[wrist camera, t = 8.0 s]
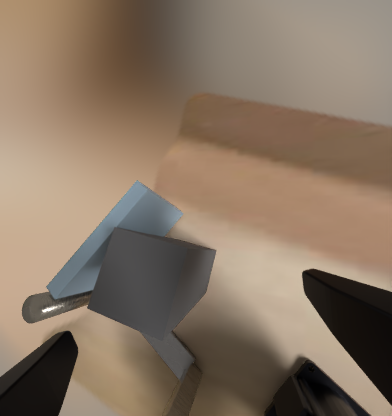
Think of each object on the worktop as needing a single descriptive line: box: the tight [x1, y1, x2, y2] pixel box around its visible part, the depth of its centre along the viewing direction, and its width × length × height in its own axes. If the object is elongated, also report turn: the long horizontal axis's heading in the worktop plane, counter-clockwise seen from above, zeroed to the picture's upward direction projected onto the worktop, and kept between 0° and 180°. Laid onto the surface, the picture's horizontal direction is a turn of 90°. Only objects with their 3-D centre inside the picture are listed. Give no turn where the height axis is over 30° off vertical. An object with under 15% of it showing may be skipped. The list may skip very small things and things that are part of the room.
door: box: [46, 180, 183, 299], centre depth 19 cm, size 10×3×9 cm, turn 139°
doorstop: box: [87, 227, 216, 341], centre depth 16 cm, size 4×4×12 cm
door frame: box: [22, 290, 202, 416], centre depth 17 cm, size 13×2×10 cm, turn 49°
